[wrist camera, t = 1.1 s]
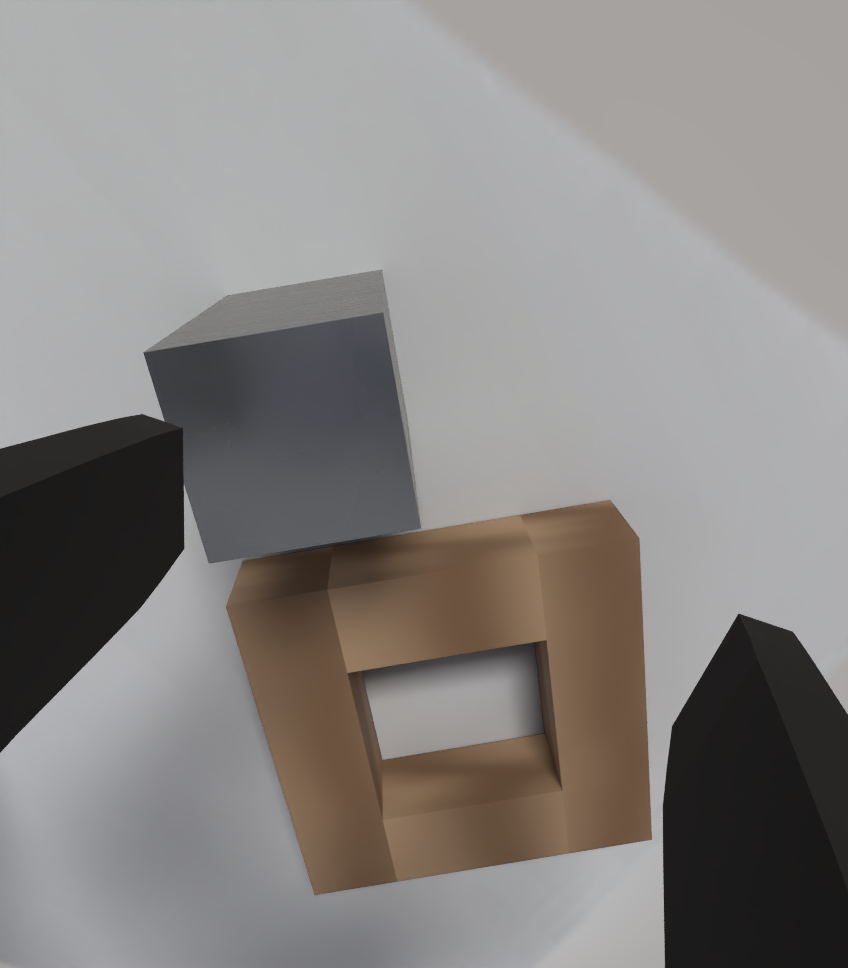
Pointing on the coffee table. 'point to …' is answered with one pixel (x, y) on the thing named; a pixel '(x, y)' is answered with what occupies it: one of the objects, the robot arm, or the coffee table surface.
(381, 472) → the peg
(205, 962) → the coffee table surface
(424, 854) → the socket block
